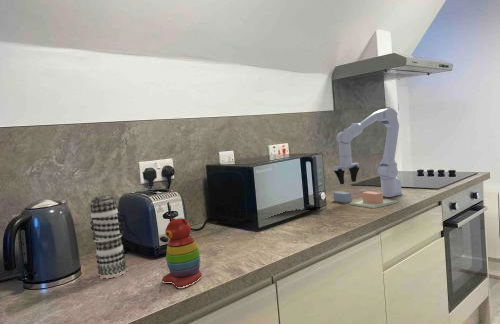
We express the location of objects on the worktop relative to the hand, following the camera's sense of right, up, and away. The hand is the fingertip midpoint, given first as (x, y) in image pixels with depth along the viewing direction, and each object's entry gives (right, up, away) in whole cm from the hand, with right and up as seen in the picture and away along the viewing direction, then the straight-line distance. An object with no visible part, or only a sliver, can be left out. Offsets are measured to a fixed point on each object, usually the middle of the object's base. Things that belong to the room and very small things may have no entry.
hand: (347, 182), depth 187 cm
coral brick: (+9, -9, -9) cm, 16 cm away
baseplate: (+10, -9, -9) cm, 16 cm away
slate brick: (-2, -10, +4) cm, 11 cm away
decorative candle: (-92, -25, -68) cm, 117 cm away
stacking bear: (-67, -23, -80) cm, 107 cm away
